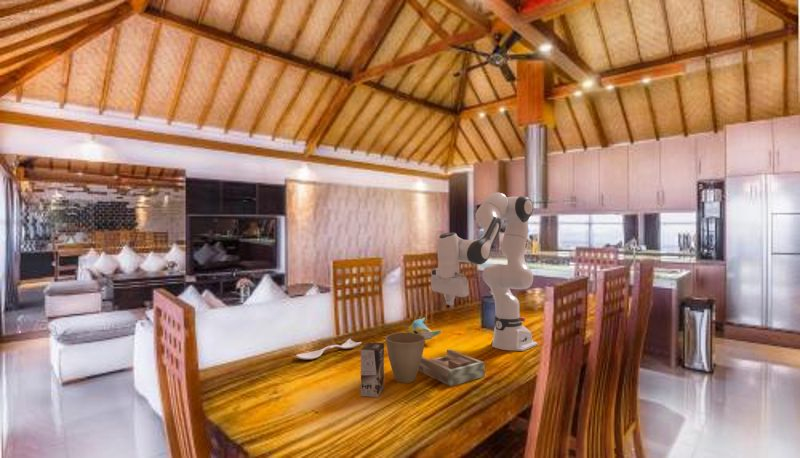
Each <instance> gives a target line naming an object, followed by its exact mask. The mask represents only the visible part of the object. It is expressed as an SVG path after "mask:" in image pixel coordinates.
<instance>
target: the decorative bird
mask: <svg viewBox="0 0 800 458" xmlns="http://www.w3.org/2000/svg"><path fill="white" fill-rule="evenodd" d="M425 319H426V317H422V318H417V319H415V320H413V322H412V323H411V325H408V326H407V325H405V324H404V329H405V330H406V333H416V334H420V335H423V336H424V337H425V341H428V340H432V339H433V338H434V337H436V336H438V335H441V334H442V333H441V330H440V329H439V330H431V329H430V328H429V327H428V326H427V325H426V324H425V323H424V322H425ZM407 329H408V330H407Z"/></svg>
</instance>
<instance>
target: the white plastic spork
mask: <svg viewBox="0 0 800 458" xmlns="http://www.w3.org/2000/svg"><path fill="white" fill-rule="evenodd" d="M361 344H362V341H359V342H356V341H354V340H352V338H349V339H347V340H346V341H344V343H342V344H341V345H339V344H332V345H328V346H327V345H326V347H323V348H321V349H317V350H314V351H309V352H303V353H298V354H296V355H295V358H297V359H298V360H299V359H300V360H305V361H307V360H308V361H310V360H314V359H317V358H319V357H321V355H322V354H323V353H324V352H325V351H326V350H331V349H333V348H340V349H344V350H348V349H352V348H354V347H357V346H360V345H361Z"/></svg>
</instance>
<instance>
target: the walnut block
mask: <svg viewBox="0 0 800 458" xmlns="http://www.w3.org/2000/svg"><path fill="white" fill-rule="evenodd" d="M469 364H471V361H468V360H466V359H463V358H461V357H459V358H455V359H451V360H448V368H450V369H454V368H458V367H462V366H465V365H469Z"/></svg>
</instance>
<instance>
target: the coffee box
mask: <svg viewBox="0 0 800 458" xmlns="http://www.w3.org/2000/svg"><path fill="white" fill-rule="evenodd" d="M384 389H385V343H383V342H367V343H365V345H364V346H363V347H361V349H360V396H361V397H371V398H378V397H379V396H380V395H381V394H382V392H383V390H384Z"/></svg>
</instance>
